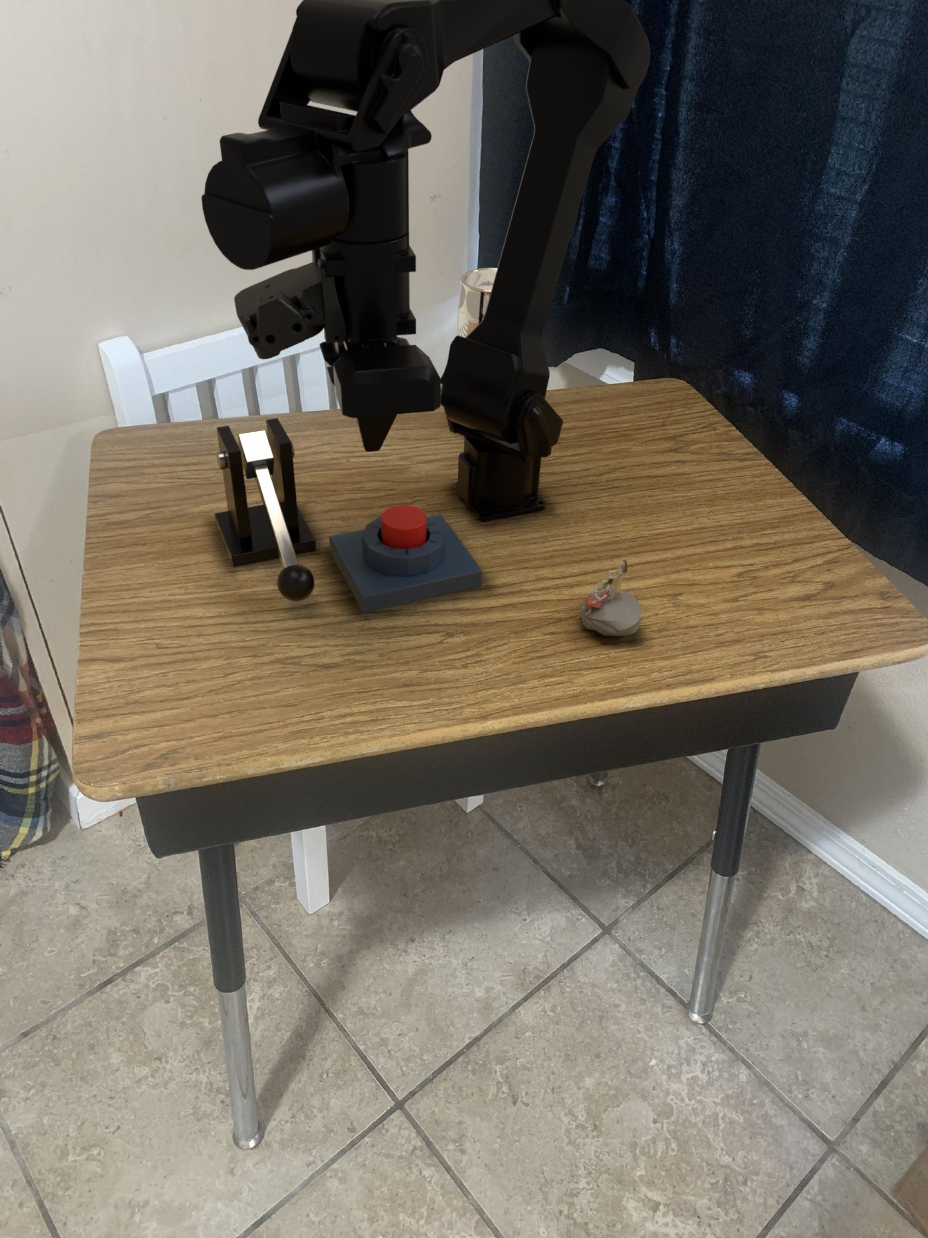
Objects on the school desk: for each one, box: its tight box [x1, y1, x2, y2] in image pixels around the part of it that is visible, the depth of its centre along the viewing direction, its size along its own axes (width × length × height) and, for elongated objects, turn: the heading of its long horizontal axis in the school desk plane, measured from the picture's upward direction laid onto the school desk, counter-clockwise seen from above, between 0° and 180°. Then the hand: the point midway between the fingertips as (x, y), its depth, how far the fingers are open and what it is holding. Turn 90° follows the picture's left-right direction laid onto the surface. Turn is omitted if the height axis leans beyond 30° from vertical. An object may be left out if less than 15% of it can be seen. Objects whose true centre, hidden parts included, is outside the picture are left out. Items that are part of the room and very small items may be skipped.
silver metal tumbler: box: [456, 267, 498, 338], centre depth 97 cm, size 7×7×15 cm
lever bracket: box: [214, 417, 317, 568], centre depth 80 cm, size 7×7×10 cm
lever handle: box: [237, 429, 316, 602], centre depth 76 cm, size 15×3×3 cm, turn 23°
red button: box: [380, 504, 428, 549], centre depth 78 cm, size 4×4×2 cm
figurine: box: [580, 559, 642, 637], centre depth 73 cm, size 5×4×6 cm
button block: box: [328, 514, 483, 614], centre depth 79 cm, size 10×9×4 cm
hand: (371, 449), depth 72 cm, fingers closed
